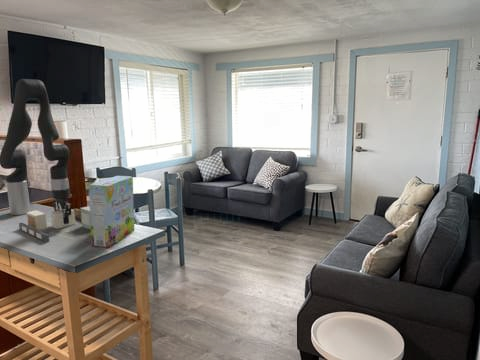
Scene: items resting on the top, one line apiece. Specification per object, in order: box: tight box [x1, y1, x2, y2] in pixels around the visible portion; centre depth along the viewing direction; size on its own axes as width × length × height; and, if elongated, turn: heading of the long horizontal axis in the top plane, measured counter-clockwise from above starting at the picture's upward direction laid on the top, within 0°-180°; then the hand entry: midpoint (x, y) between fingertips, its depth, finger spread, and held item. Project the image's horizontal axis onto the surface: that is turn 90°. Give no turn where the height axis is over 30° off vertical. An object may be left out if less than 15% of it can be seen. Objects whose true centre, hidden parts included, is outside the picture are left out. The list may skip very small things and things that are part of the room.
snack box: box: [88, 175, 135, 248], centre depth 153 cm, size 22×9×26 cm, turn 168°
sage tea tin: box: [79, 205, 91, 231], centre depth 170 cm, size 8×5×9 cm, turn 53°
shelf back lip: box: [73, 208, 81, 219], centre depth 179 cm, size 26×1×4 cm, turn 53°
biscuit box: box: [50, 208, 76, 230], centre depth 172 cm, size 5×9×7 cm, turn 142°
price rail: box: [18, 222, 50, 243], centre depth 158 cm, size 26×2×3 cm, turn 53°
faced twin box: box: [26, 209, 48, 231], centre depth 169 cm, size 5×9×7 cm, turn 53°
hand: (63, 222), depth 172 cm, fingers closed on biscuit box, 4 cm apart
